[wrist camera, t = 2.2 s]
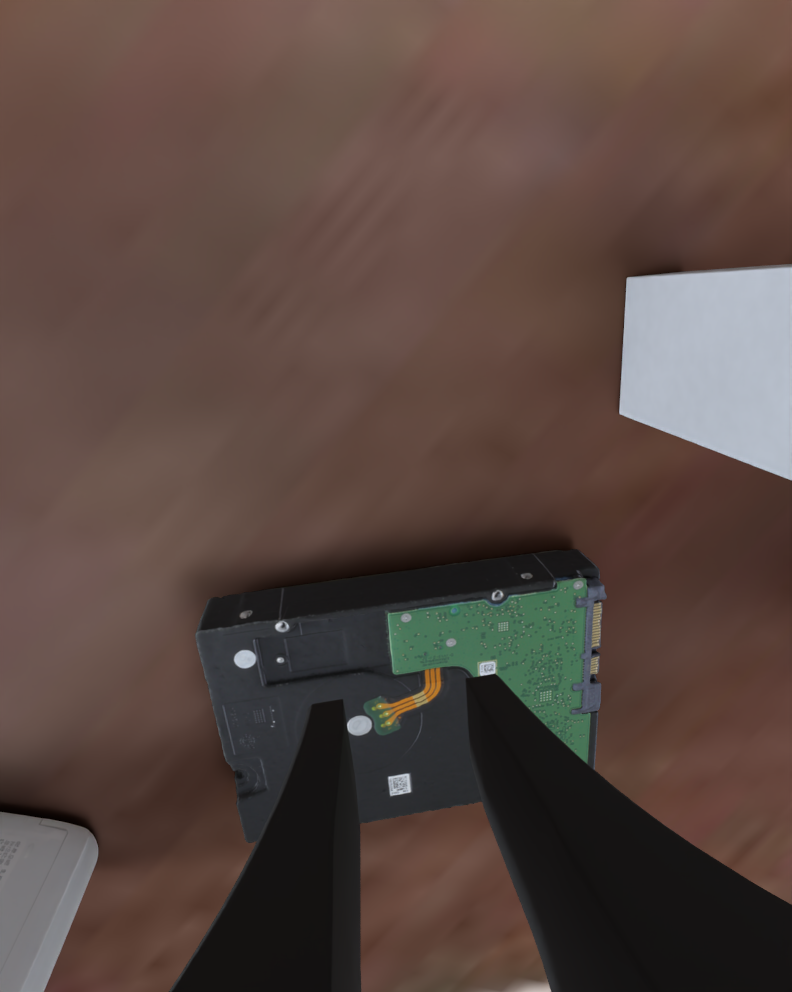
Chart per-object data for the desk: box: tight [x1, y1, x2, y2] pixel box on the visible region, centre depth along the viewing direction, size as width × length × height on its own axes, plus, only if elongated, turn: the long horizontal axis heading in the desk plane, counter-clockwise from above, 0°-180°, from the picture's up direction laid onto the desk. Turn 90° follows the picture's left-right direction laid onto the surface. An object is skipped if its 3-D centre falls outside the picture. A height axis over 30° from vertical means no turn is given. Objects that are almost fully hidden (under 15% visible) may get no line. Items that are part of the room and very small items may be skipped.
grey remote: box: [619, 264, 792, 480], centre depth 15 cm, size 2×5×9 cm, turn 5°
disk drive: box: [195, 549, 606, 843], centre depth 22 cm, size 10×3×15 cm
